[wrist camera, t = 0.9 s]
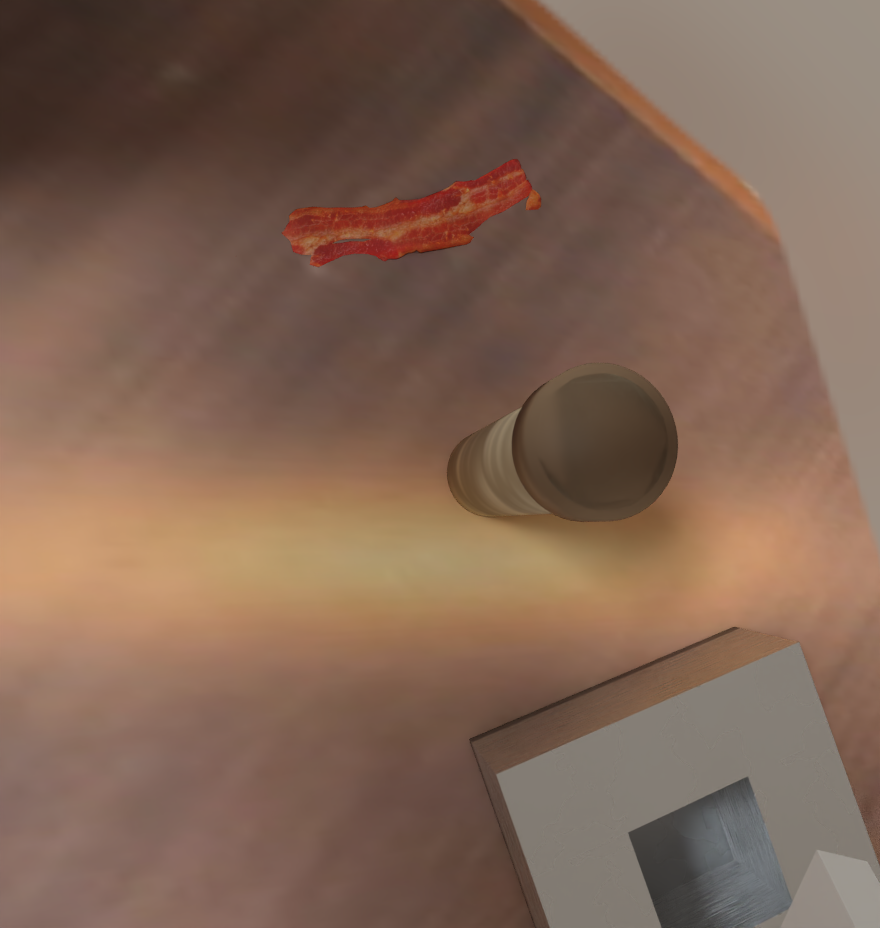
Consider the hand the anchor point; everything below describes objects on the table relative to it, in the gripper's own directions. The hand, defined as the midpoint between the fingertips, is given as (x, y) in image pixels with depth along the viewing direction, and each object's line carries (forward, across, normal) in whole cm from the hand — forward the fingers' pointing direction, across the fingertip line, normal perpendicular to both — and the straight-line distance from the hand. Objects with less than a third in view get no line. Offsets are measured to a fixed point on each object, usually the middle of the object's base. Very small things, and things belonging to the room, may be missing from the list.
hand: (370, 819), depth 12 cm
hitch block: (+20, +13, -16) cm, 29 cm away
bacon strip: (+28, -5, +7) cm, 30 cm away
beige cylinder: (+25, +2, -2) cm, 25 cm away
